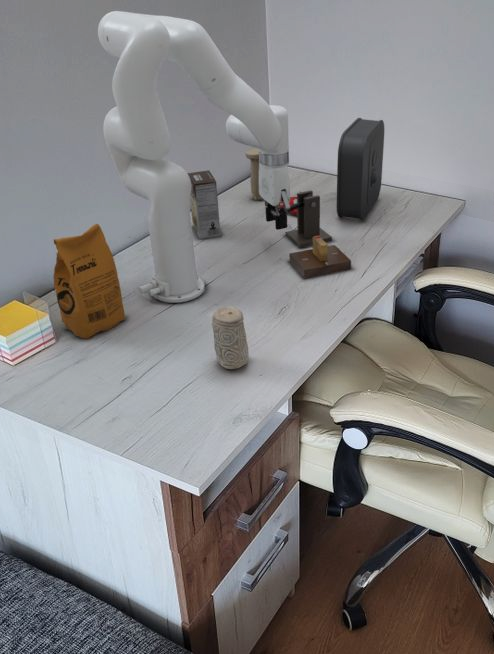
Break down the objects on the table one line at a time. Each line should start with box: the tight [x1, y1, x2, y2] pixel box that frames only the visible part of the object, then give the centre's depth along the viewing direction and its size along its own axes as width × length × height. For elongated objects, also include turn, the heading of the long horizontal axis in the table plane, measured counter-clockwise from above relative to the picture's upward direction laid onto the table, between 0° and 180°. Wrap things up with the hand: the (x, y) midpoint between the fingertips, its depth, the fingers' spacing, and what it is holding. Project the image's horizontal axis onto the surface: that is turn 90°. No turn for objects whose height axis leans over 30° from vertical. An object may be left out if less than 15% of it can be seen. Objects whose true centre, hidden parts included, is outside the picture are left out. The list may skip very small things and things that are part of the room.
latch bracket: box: [284, 190, 333, 249], centre depth 182 cm, size 10×9×13 cm
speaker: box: [336, 117, 385, 221], centre depth 196 cm, size 25×9×25 cm, turn 162°
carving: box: [211, 306, 249, 370], centre depth 133 cm, size 6×8×12 cm
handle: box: [245, 148, 263, 201], centre depth 205 cm, size 5×6×15 cm
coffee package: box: [52, 223, 126, 340], centre depth 142 cm, size 10×12×22 cm
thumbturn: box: [312, 235, 329, 262], centre depth 169 cm, size 6×2×5 cm, turn 24°
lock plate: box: [288, 244, 352, 280], centre depth 171 cm, size 13×10×3 cm
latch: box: [270, 194, 312, 216], centre depth 178 cm, size 12×5×2 cm, turn 118°
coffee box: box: [187, 170, 221, 240], centre depth 184 cm, size 9×6×16 cm
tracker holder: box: [279, 190, 302, 216], centre depth 202 cm, size 12×4×10 cm
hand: (276, 223), depth 178 cm, fingers closed on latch, 5 cm apart
